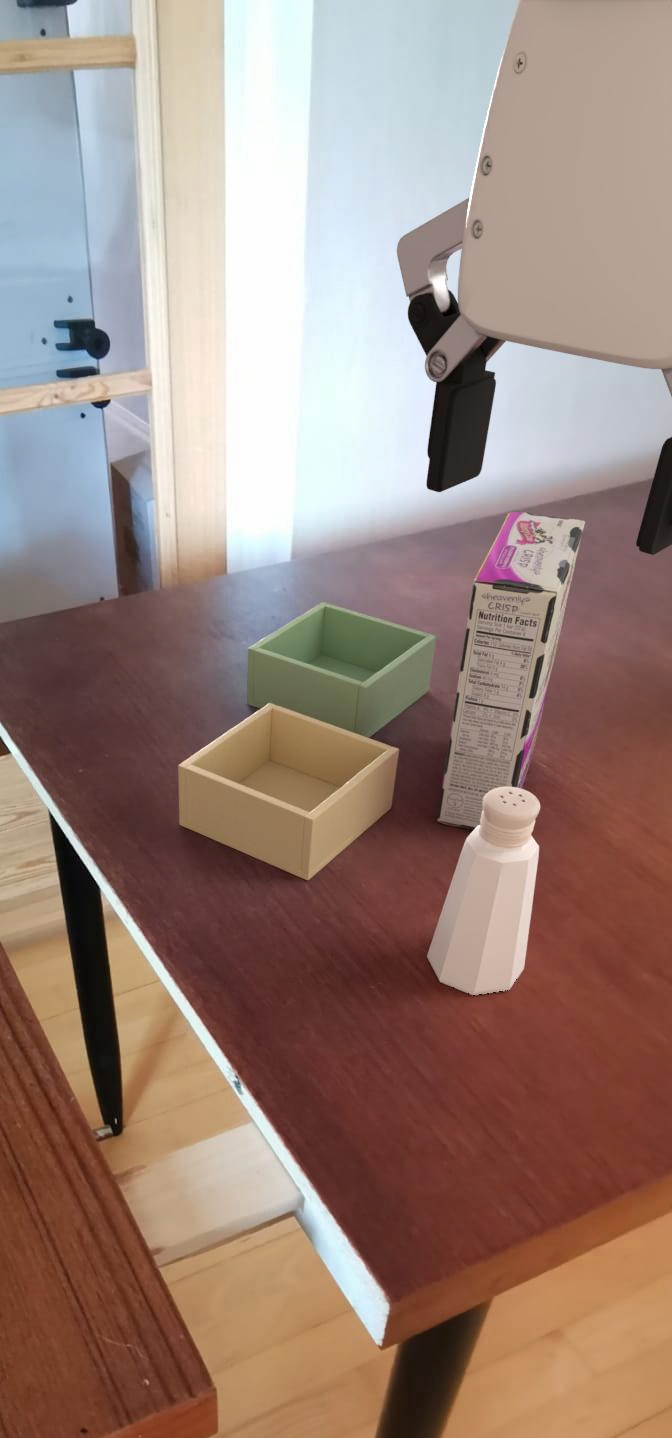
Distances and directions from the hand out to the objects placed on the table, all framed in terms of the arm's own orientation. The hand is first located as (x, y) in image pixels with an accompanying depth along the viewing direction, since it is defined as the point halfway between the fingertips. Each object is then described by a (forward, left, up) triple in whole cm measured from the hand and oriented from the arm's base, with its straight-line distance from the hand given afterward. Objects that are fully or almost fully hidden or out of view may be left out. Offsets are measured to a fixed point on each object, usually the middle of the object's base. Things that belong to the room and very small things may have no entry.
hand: (551, 512), depth 44 cm
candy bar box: (+7, -18, -25) cm, 32 cm away
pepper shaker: (-1, -1, -25) cm, 25 cm away
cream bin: (+16, -7, -25) cm, 30 cm away
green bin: (+22, -23, -25) cm, 40 cm away
